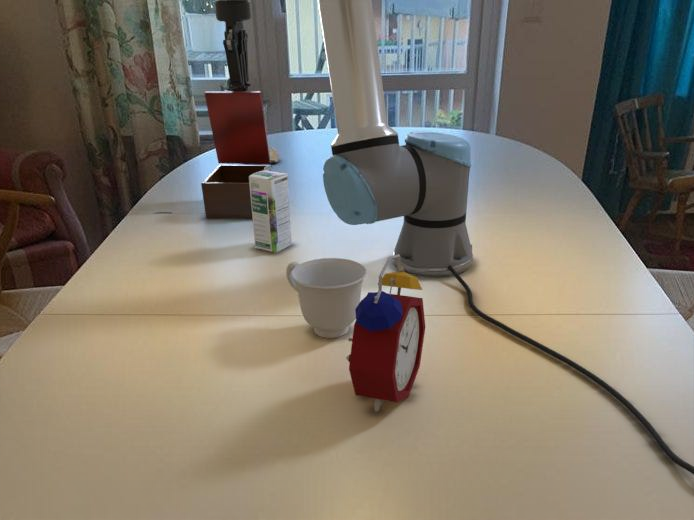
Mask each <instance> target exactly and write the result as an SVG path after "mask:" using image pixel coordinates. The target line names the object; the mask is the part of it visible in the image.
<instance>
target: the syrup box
mask: <svg viewBox="0 0 694 520" xmlns="http://www.w3.org/2000/svg"><path fill="white" fill-rule="evenodd" d="M249 185H250V196H251V206H252V217H253V219H252V227H253V239H254V248H255V250H256V249H257V250H262V251H263V250H264V251H267V252H271V253H274V254H277V253H279V252H281V251H283V250H285V249H287V248H288V247H290V246H292V245H293V243H292V240H293V239H292V224H291V208H290V194H289V193H290V192H289V175H288V173H287V172H286V173H285V172H284V173H283V172H278V171H272V170H271V171H268V170H264V171H259V172H256V173H254V174H252V175H250V176H249Z"/></svg>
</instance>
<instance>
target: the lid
mask: <svg viewBox="0 0 694 520" xmlns="http://www.w3.org/2000/svg"><path fill="white" fill-rule="evenodd" d="M204 97H205V103H206V107H207V108H206V109H207V113H208V118H209V124H210V128H211V134H212V138H213V143H214V149H215V152H216V153H215V154H216V159H217V163H218V164H238V165H271V163H272V162H271V161H270V154H269V147H270V146H269V139H268V131H267V127H266V120H265V111H264V104H263V97H262V91H261V90H247V91H234V90H215V91H214V90H208V91H207V90H205V91H204Z"/></svg>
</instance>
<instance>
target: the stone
mask: <svg viewBox="0 0 694 520" xmlns="http://www.w3.org/2000/svg"><path fill="white" fill-rule="evenodd" d="M269 154H270V161H271V163H278V162H279V161H280V160H279V159H280V156H279V155H280V154H279V153H278V152H277V150H276V149H275V148H274V147H272V146H269Z"/></svg>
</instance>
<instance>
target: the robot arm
mask: <svg viewBox="0 0 694 520" xmlns="http://www.w3.org/2000/svg"><path fill="white" fill-rule="evenodd" d="M317 5H318V10H319V18H320V25H321V32H322V38H323V45H324V51H325V57H326V64H327V69H328V76H329V84H330V91H331V96H332V97H331V98H332V103H333V110H334V116H335V123H336V130H337V134H336V136H335V138H334V140H333V141H332V143H331V145H330V149H331V155H330V156H329V157H327V159H326V160H325V161H324V164H323V168H322V169H323V174H322V182H323V189H324V193H325V195H326V198H327V201H328V203H329V205H330V207H331V209H332V211H333V212H334V213H335V214H336V216H337V218H338V219H339V220H340V221H342V222H343V223H344V224H347V225H350V226H358V225H364V224H365V225H372V224H375V223H377V222H381V221H387V220H392V219H396V218H401V217H403V223H402V226H401V230H400V232H399V235H398V238H397V241H396V244H395V247H394V249H393V255H398V254H400V268H401V266H404V270H403V272H406V273H408V274H410V275H412V276H416V277H425V278H426V277H427V278H442V277H443V278H444V277H450V276H454V278H455V279H456V280H457V281H458V282H459V284H460V285H461V286H462V287H463V288H464V290H465V292H466V293H467V298H468V299H467V300H468V305H469V307H470V309H471V310H472V311H473V313H475V314H476V315H477V316H478V317H480V318H481V319H483V320H485V321H487V322H489V323H491V324H492V325H494V326H496V327H498V328H500V329H502V330H503V331H504V332H506V333H509V334H510V335H512V336H514V337H515V338H518V339H520V340H522V341H524V342H526V343H527V344H529V345H530V346H533V347H535V348H536V349H538V350H540V351H542V352H544V353H546V354H548V355H550V356H552V357H554V358H555V359H557V360H559V361H560V362H563V363H564V364H566V365H568V366H570V367H571V368H573V369H574V370H576V371H578V372H579V373H581V374H582V375H584V376H585V377H587V378H589V379H590V380H592V381H593V382H595V383H596V384H597V385H599V386H600V387H602V388H603V389H604V390H605V391H606V392H608V393H609V394H611V395H612V396H613V397H614V398H615V399H616V400H617V401H618V402H620V403H621V404H622V405H623V406H624V407H625V408H626V409H627V410H628V411H629V412H630V413H631V414H632V415H633V416H634V417H635V418H636V419H637V420H638V421H639V422H640V423H641V424H642V426H643V427H644V428H645V429H646V430H647V432H648V433H649V434H650V435H651V437H652V438H653V439H654V440H655V442H656V444H657V445H658V447H659V448H660V449H661V450H662V451H663V452H664V454H665V455H666V456H667V457H668V458H669V459H670V460H671V462H673V463H675V464H676V465H677V466H679V467H681V468H682V469H684V470H686V471H688V472H689V473H691V474H692V475H693V476H694V466H693V465H692V464H690V463H688V462H687V461H685V460H683V459H682V458H680V457H679V456H678V455H676V454H675V452H674V451H673V450H672V449H671V448H670V447H669V446H668V444H667V443H666V442H665V441H664V440H663V439H662V437H661V435H660V434H659V433H658V432H657V430H656V429H655V427H653V425H652V424H651V423H650V421H649V420H648V419H647V418H646V417H645V416H644V415H643V414H642V413H641V412H640V411H639V410H638V409H637V408H636V407H635V406H634V405H633V404H632V403H631V402H630V401H629V400H628V399H627V398H626V397H625V396H623V395H622V394H621V393H619V392H618V391H617V390H616V389H615V388H614V387H612V386H611V385H610V384H608V383H607V382H606V381H604V379H601V378H600V377H598V376H597V375H596V374H594V373H593V372H591V371H590V370H588V369H586V368H585V367H583V366H581V365H579V364H578V363H576V362H575V361H573V360H572V359H570V358H568V357H566V356H564V355H563V354H560V353H559V352H557V351H555V350H553V349H552V348H550V347H548V346H545V345H544V344H542V343H540V342H539V341H536V340H534V339H532V338H530V337H529V336H527V335H524V334H523V333H521V332H519V331H517V330H515V329H513V328H511V327H510V326H508V325H506V324H504V323H502V322H501V321H499V320H497V319H495V318H493V317H491V316H489V315H488V314H486V313H485V312H483V311H482V310H480V309H479V308H478V307H477V306H476V305H475V303H474V299H473V298H474V297H473V292H472V290H471V288H470V287H469V285H468V284H467V283H466V281H465V280H464V279H463V278H462V277H461V276H460V274H461V273H464V272H466V271H468V270H469V269H470V268H471V267H472V265H473V257H474V254H473V245H472V244H471V240H470V235H469V233H468V227H467V223H466V222H467V211H468V209H467V208H468V196H469V182H470V171H471V168H472V164H471V145H470V143H469V142H468V141H467V139H465V138H464V137H460V136H457V135H453V134H449V133H443V132H435V131H411V132H408V133H407V134H406V135H405V139H404V143H405V144H404V145H400V140H399V132H397V131H396V130H394V129H393V128H392V127H391V126H390V125H389V123H388V117H387V116H388V115H387V108H386V102H385V101H386V100H385V92H384V85H383V78H382V71H381V62H380V55H379V46H378V38H377V32H376V31H377V29H376V24H375V15H374V9H373V1H372V0H317ZM214 11H215V12H214V13H215V18H216V19H215V20H217V21H218V22H224V23H225V30H224V33H223V34H224V39H223V40H222V44H223V49H224V52H225V57H226V65H227V69H228V70H227V71H228V74H229V75H228V76H229V82H230V85H229V89H233V91H248V87H251V83H250V78H249V77H250V76H249V53H248V37H249V35H248V32H246V29H244V28H245V27H244V22H245V21H249V20H250V19H251V17H252V15H251V3H250V0H215V1H214ZM392 261H393V265H394V267H395V268H396V269H397V258H395V259H392Z"/></svg>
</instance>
